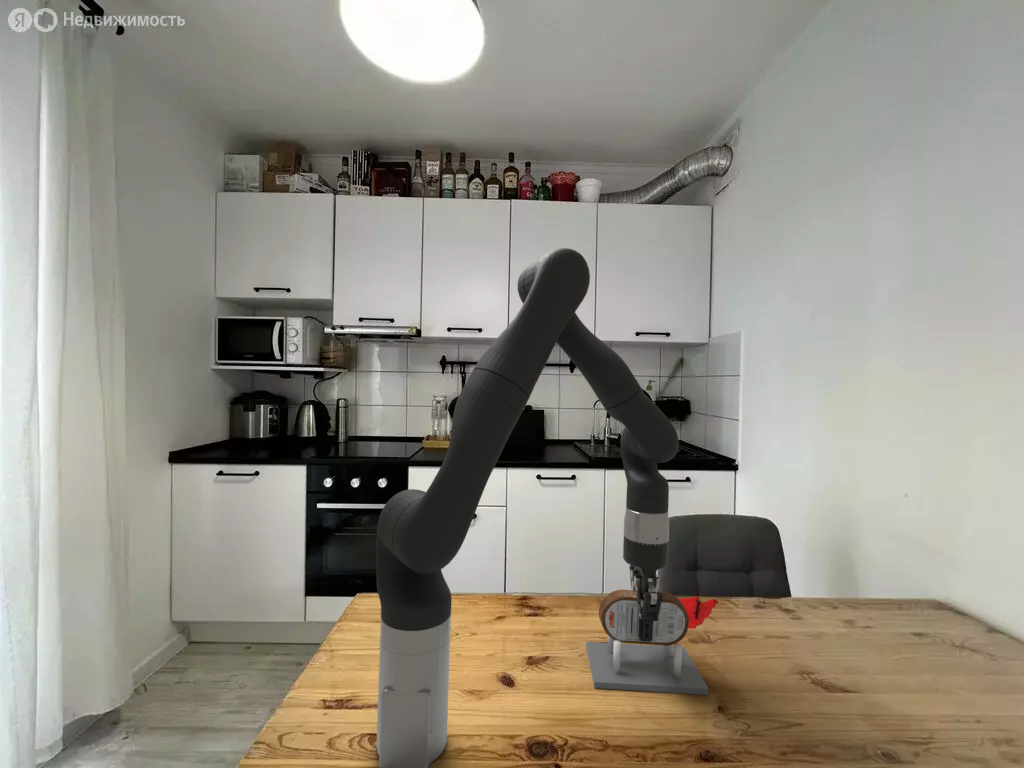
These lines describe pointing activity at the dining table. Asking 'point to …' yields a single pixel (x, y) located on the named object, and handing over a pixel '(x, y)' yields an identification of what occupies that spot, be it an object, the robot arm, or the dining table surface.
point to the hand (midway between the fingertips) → (642, 634)
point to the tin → (624, 621)
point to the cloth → (697, 610)
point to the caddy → (644, 668)
